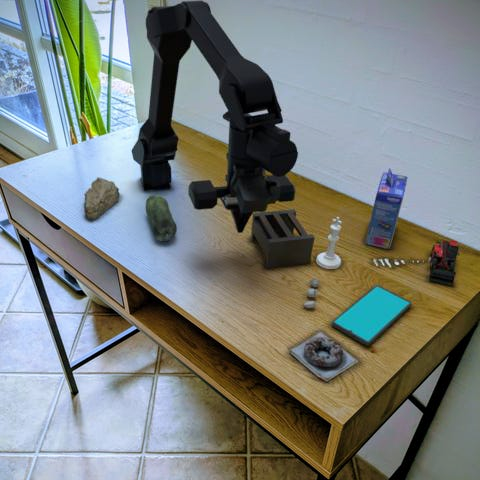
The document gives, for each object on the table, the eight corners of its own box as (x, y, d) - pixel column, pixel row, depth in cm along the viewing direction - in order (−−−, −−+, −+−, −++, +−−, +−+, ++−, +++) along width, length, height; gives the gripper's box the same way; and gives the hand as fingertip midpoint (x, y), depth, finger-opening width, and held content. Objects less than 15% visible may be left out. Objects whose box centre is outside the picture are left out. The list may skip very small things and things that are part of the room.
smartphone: (412, 302, 88) (368, 343, 80) (411, 306, 89) (367, 346, 80) (376, 284, 92) (331, 321, 83) (375, 287, 92) (330, 325, 84)
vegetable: (140, 194, 105) (163, 187, 105) (147, 214, 108) (168, 208, 109) (151, 229, 95) (176, 221, 96) (158, 250, 99) (182, 243, 99)
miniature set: (370, 260, 100) (373, 254, 99) (424, 258, 102) (427, 251, 101) (376, 269, 98) (378, 263, 96) (431, 267, 100) (433, 260, 99)
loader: (452, 286, 94) (461, 266, 91) (427, 281, 95) (435, 261, 92) (452, 254, 103) (460, 234, 100) (429, 249, 104) (436, 230, 101)
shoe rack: (267, 268, 95) (270, 242, 91) (250, 238, 103) (252, 213, 99) (310, 263, 97) (314, 237, 93) (290, 234, 105) (294, 209, 101)
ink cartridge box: (369, 222, 111) (385, 160, 101) (394, 227, 110) (413, 165, 100) (363, 244, 104) (379, 180, 94) (389, 250, 103) (409, 185, 93)
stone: (62, 204, 103) (72, 225, 106) (92, 199, 101) (102, 221, 104) (89, 178, 113) (98, 197, 116) (117, 173, 111) (125, 193, 114)
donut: (287, 350, 78) (289, 341, 77) (321, 332, 82) (323, 323, 81) (324, 383, 74) (327, 373, 72) (358, 362, 78) (361, 352, 76)
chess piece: (334, 272, 96) (344, 227, 89) (311, 263, 97) (320, 218, 91) (344, 260, 99) (355, 216, 92) (322, 252, 101) (331, 208, 94)
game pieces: (319, 283, 92) (309, 284, 93) (318, 274, 91) (307, 275, 91) (315, 312, 87) (304, 312, 87) (314, 303, 85) (303, 303, 86)
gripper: (202, 178, 76) (201, 261, 86) (313, 169, 81) (300, 249, 91) (187, 149, 84) (188, 228, 94) (289, 142, 89) (279, 219, 99)
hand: (239, 231), depth 94 cm, fingers closed
